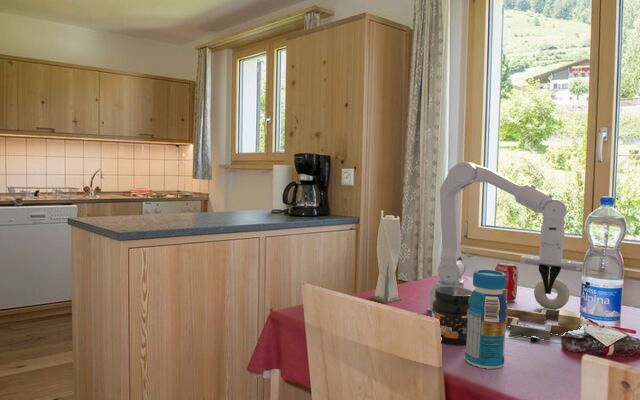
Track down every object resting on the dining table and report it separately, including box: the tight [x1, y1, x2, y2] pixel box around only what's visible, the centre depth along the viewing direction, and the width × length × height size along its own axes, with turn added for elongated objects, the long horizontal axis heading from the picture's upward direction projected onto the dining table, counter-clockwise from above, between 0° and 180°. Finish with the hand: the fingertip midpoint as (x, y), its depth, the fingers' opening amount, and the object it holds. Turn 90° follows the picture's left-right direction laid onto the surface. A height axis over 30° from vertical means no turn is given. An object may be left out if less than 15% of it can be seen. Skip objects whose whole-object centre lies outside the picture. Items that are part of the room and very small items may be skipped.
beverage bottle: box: [464, 269, 509, 370], centre depth 109 cm, size 8×8×20 cm
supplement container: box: [431, 286, 474, 346], centre depth 124 cm, size 10×10×12 cm
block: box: [557, 309, 581, 328], centre depth 133 cm, size 5×5×5 cm
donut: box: [533, 278, 570, 310], centre depth 154 cm, size 10×4×10 cm, turn 72°
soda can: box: [494, 261, 519, 303], centre depth 164 cm, size 7×7×12 cm
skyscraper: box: [370, 210, 403, 304], centre depth 160 cm, size 8×8×28 cm
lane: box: [506, 307, 586, 341], centre depth 137 cm, size 22×23×4 cm
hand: (547, 293), depth 136 cm, fingers closed
